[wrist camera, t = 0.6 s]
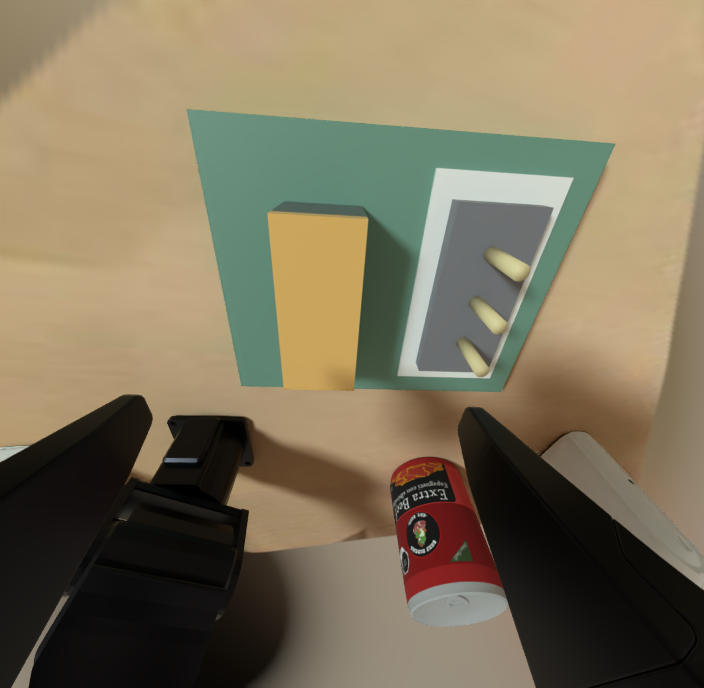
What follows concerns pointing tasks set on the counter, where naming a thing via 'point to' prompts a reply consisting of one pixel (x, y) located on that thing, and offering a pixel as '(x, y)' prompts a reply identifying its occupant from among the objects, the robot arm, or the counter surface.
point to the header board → (399, 237)
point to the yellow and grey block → (318, 291)
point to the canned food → (443, 547)
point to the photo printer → (624, 500)
